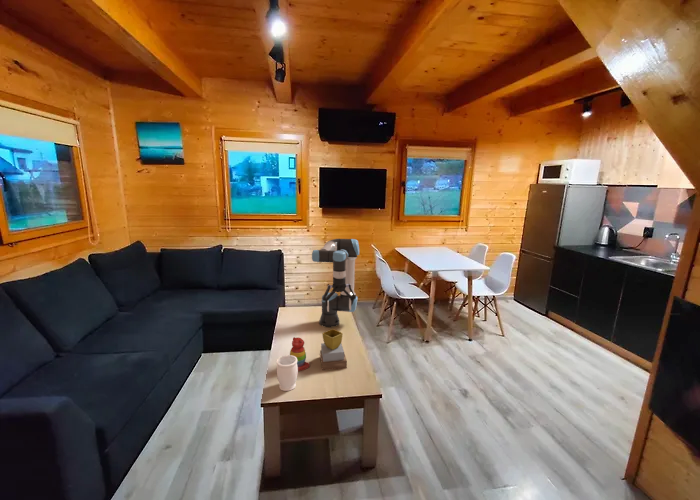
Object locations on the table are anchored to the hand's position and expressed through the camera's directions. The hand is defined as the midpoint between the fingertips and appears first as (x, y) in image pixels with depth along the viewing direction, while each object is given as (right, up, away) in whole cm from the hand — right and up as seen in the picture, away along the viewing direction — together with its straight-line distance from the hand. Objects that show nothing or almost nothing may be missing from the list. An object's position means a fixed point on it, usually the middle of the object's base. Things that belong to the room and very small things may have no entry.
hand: (339, 310), depth 190 cm
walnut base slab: (-3, -30, -5) cm, 31 cm away
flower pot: (-4, -21, -7) cm, 22 cm away
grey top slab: (-4, -26, -6) cm, 27 cm away
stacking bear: (-23, -31, -10) cm, 40 cm away
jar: (-26, -35, -28) cm, 51 cm away
